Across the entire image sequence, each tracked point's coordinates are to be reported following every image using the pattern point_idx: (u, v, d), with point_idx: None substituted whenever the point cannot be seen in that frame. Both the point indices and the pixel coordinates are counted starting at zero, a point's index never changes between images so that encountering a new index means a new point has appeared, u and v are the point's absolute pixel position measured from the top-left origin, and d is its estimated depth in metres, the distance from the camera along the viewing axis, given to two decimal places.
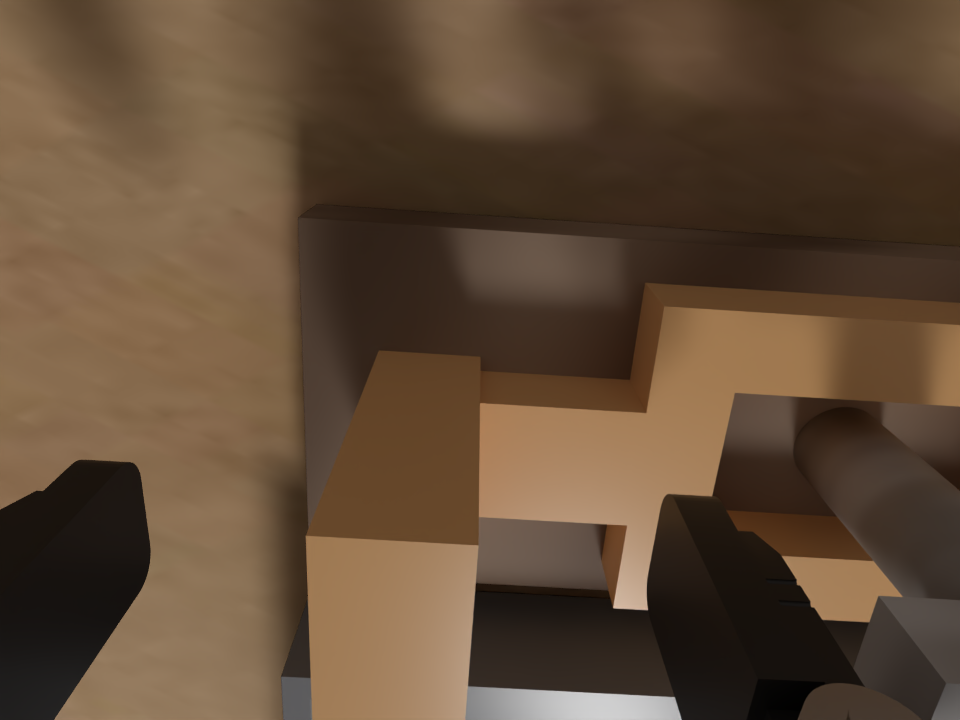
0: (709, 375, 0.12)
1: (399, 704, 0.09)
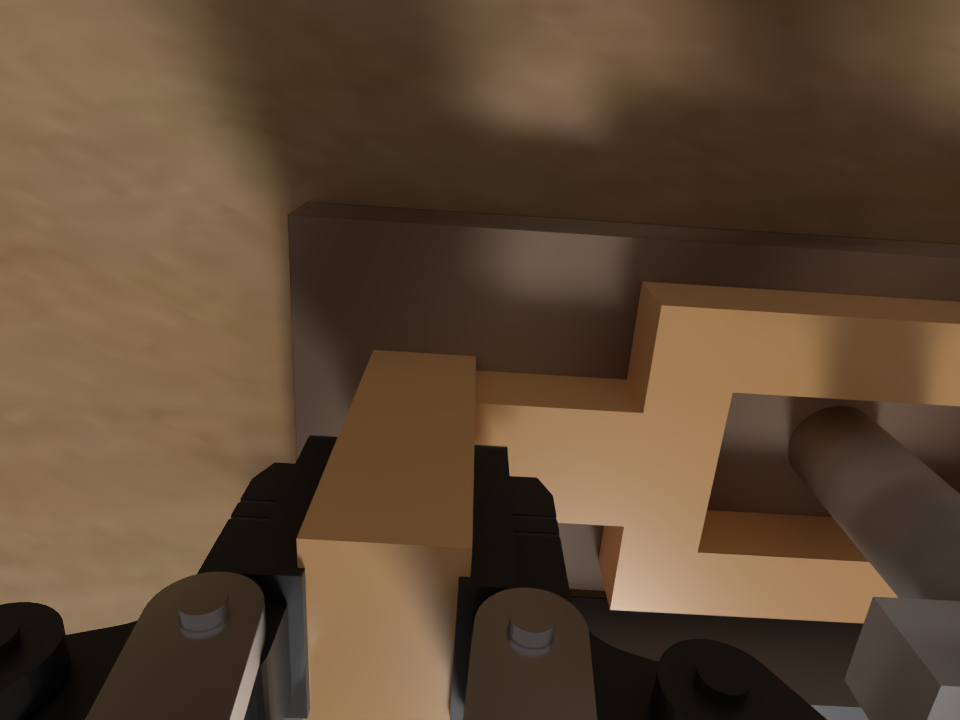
0: (707, 375, 0.12)
1: (392, 709, 0.09)
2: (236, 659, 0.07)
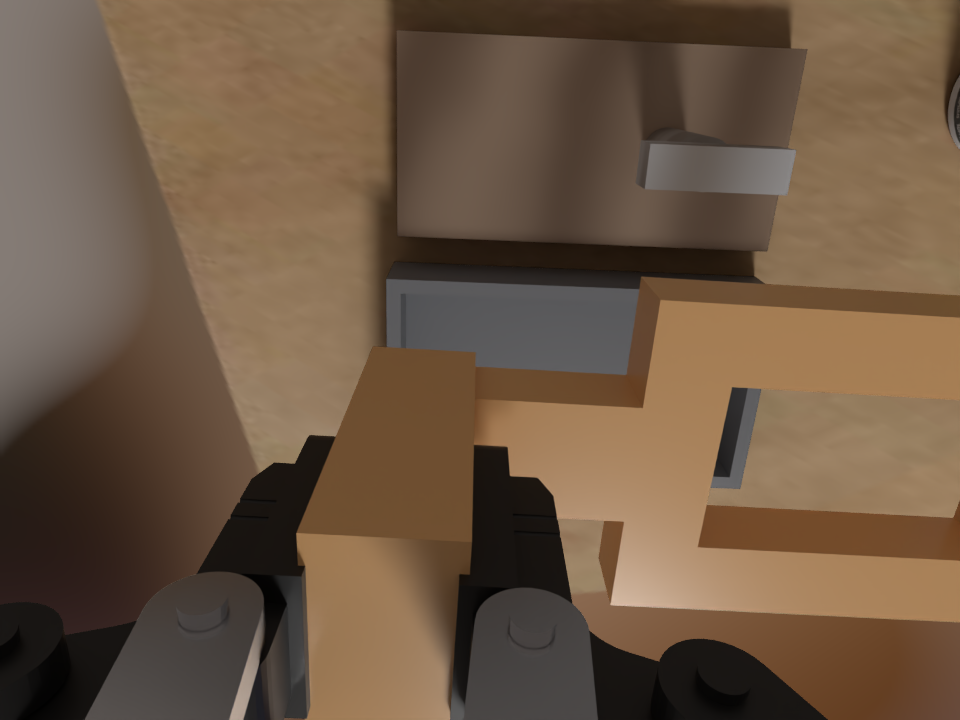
0: (706, 369, 0.12)
1: (393, 702, 0.09)
2: (236, 659, 0.07)
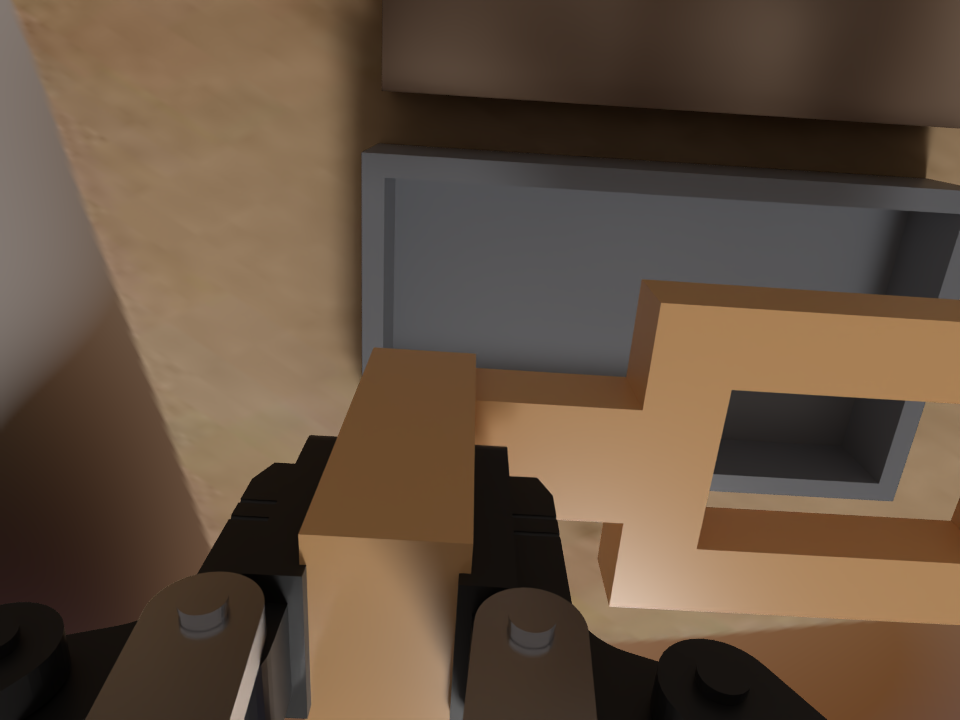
0: (706, 372, 0.12)
1: (393, 704, 0.09)
2: (236, 659, 0.07)
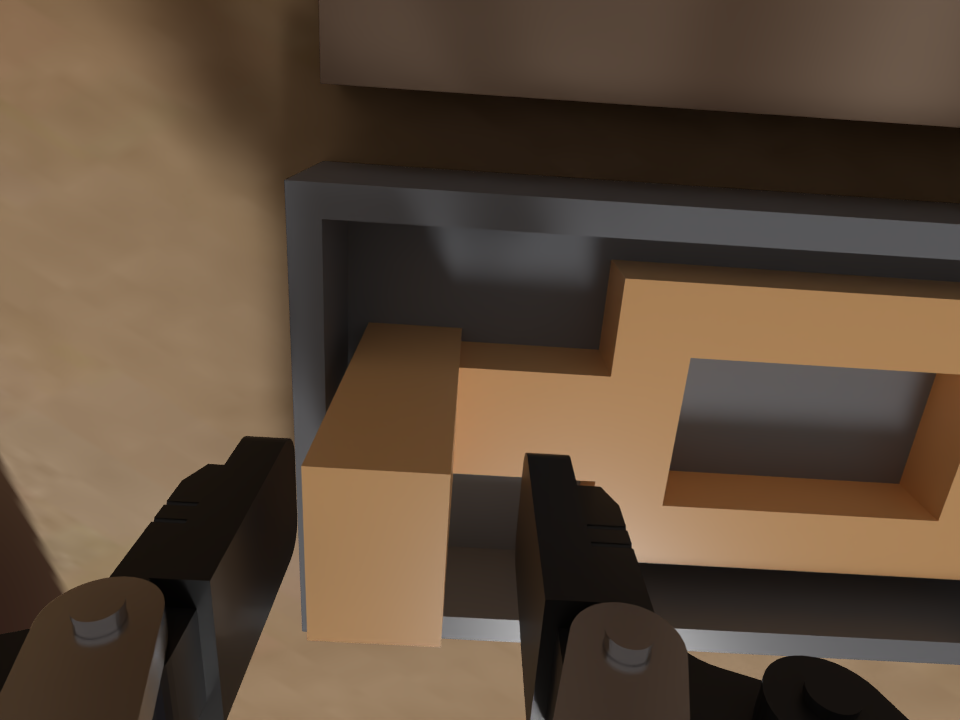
0: (667, 341, 0.13)
1: (383, 620, 0.10)
2: (125, 666, 0.06)
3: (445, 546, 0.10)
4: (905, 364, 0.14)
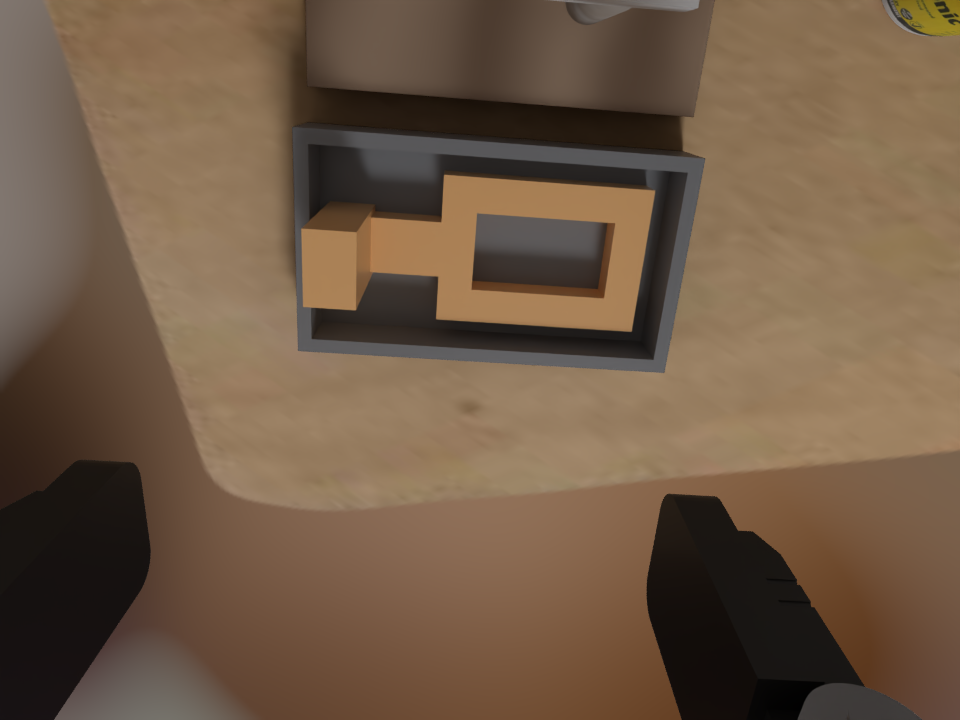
0: (465, 205, 0.29)
1: (332, 297, 0.26)
2: None
3: (355, 263, 0.26)
4: (574, 216, 0.30)
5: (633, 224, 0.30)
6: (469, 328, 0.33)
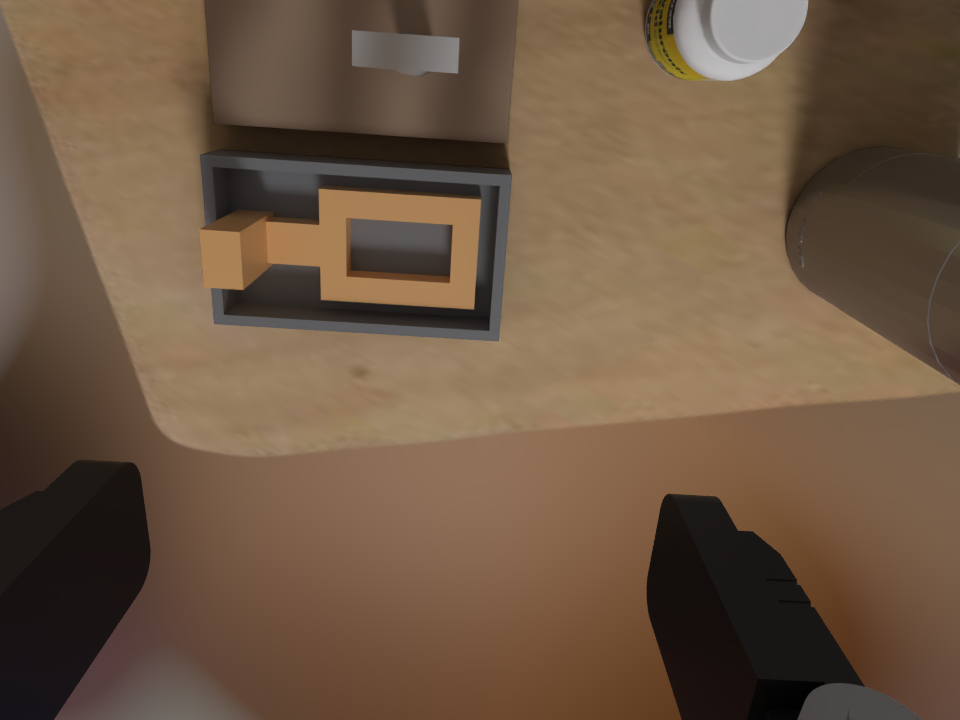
0: (336, 211, 0.39)
1: (225, 280, 0.35)
2: None
3: (240, 255, 0.35)
4: (420, 220, 0.39)
5: (466, 225, 0.39)
6: (352, 308, 0.42)
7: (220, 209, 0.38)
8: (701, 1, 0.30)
